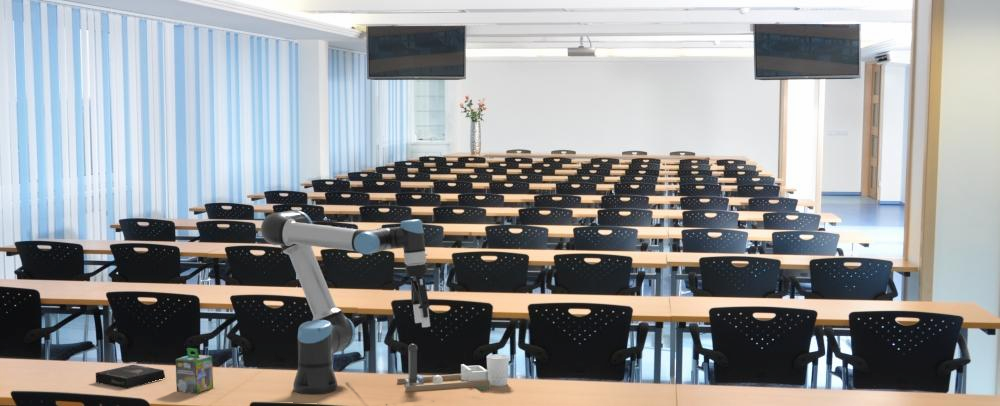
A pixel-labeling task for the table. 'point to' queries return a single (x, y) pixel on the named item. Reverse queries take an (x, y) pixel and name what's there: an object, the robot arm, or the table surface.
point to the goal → (473, 373)
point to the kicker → (413, 368)
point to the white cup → (497, 369)
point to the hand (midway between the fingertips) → (422, 324)
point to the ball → (437, 379)
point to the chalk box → (194, 372)
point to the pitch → (476, 384)
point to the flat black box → (129, 376)
